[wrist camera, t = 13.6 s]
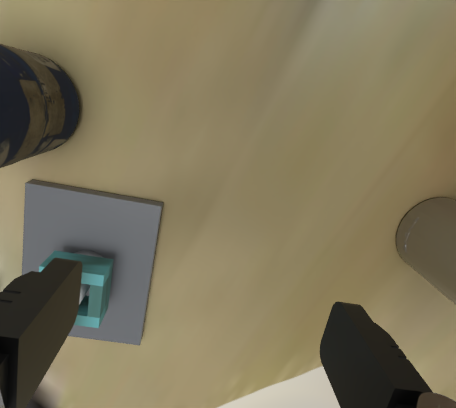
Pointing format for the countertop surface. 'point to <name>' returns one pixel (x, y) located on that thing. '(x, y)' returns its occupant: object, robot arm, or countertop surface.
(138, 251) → the shaft stand
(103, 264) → the collar
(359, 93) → the countertop surface
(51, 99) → the canister
